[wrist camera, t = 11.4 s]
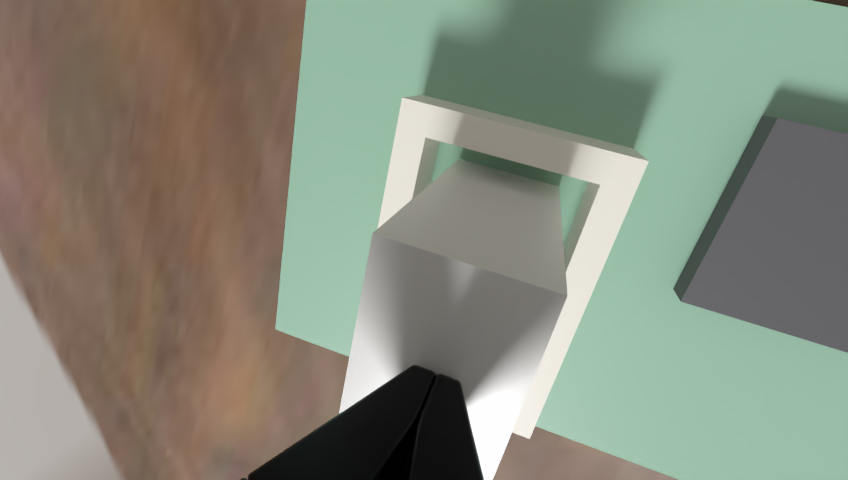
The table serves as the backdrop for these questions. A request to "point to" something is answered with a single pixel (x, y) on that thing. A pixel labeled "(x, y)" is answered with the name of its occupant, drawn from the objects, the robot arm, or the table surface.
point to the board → (610, 205)
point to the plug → (464, 295)
